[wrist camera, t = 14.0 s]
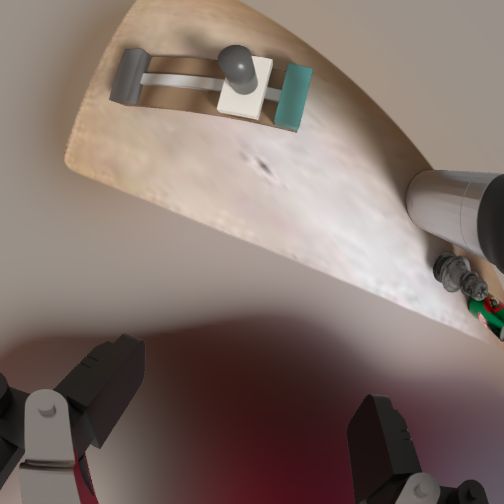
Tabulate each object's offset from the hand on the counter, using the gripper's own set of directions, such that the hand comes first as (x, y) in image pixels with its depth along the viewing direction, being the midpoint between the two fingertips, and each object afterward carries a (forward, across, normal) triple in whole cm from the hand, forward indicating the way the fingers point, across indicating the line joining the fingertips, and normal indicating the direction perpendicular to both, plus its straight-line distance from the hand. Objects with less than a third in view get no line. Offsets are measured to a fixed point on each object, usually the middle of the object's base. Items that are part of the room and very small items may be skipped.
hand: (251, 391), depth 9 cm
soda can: (+33, -39, +4) cm, 51 cm away
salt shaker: (+32, -28, 0) cm, 43 cm away
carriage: (+28, +8, -17) cm, 34 cm away
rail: (+31, +14, -17) cm, 38 cm away
